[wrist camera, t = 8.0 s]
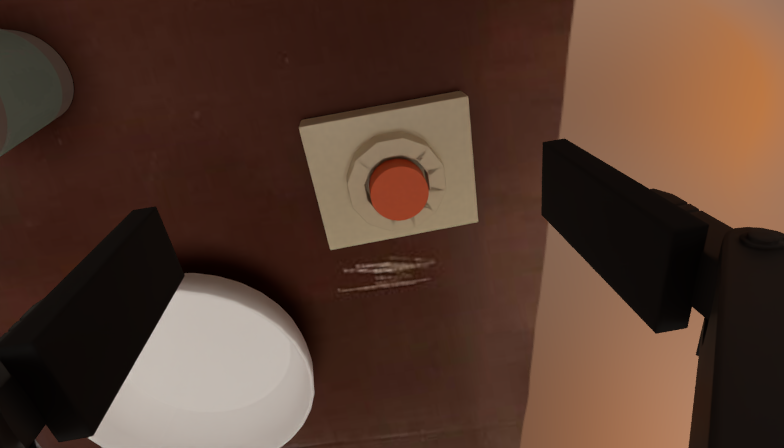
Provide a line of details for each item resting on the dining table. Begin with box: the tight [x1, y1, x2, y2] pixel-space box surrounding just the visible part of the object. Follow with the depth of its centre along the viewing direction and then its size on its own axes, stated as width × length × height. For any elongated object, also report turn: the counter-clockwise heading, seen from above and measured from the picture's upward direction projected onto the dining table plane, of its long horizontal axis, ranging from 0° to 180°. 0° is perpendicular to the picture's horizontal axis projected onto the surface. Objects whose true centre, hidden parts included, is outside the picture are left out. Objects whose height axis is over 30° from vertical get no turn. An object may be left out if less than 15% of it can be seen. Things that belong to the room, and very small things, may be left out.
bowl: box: [88, 273, 314, 448], centre depth 38 cm, size 20×20×6 cm
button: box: [369, 159, 429, 221], centre depth 31 cm, size 4×4×2 cm
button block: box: [299, 91, 478, 250], centre depth 33 cm, size 12×10×4 cm
